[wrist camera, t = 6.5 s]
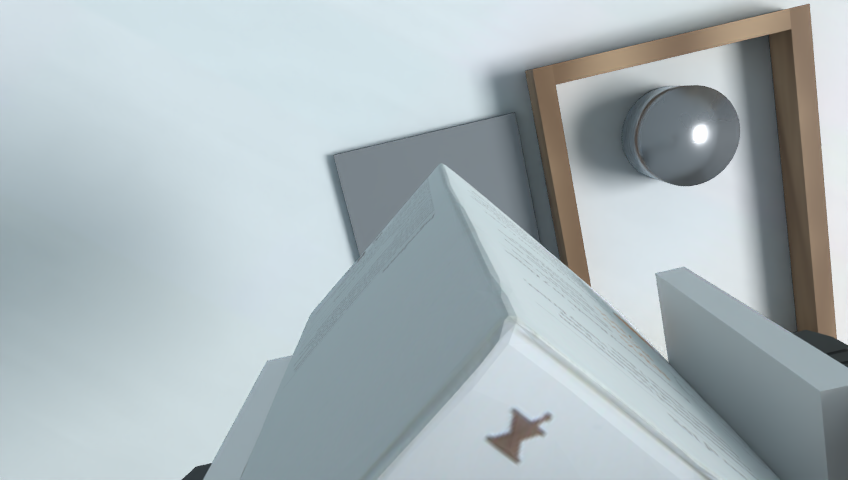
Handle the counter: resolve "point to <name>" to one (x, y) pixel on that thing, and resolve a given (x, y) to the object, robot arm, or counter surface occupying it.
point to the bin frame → (794, 131)
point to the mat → (418, 157)
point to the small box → (482, 368)
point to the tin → (681, 134)
